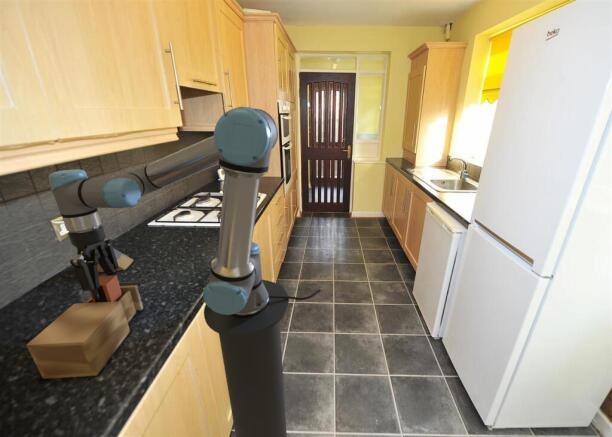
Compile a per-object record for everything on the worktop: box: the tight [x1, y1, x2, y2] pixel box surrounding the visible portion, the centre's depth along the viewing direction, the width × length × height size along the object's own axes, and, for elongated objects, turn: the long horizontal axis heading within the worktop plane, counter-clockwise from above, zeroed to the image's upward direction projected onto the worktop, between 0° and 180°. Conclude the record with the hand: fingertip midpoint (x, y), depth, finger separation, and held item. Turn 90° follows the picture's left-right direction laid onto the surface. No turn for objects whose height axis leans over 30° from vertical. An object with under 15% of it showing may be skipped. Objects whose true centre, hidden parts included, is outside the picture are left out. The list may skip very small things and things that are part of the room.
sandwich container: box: [88, 247, 134, 273], centre depth 113 cm, size 9×15×15 cm, turn 98°
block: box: [89, 274, 122, 303], centre depth 79 cm, size 5×5×7 cm
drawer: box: [85, 281, 144, 323], centre depth 83 cm, size 19×12×9 cm, turn 3°
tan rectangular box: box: [26, 301, 131, 380], centre depth 71 cm, size 15×13×11 cm
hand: (109, 299), depth 80 cm, fingers closed on block, 5 cm apart
